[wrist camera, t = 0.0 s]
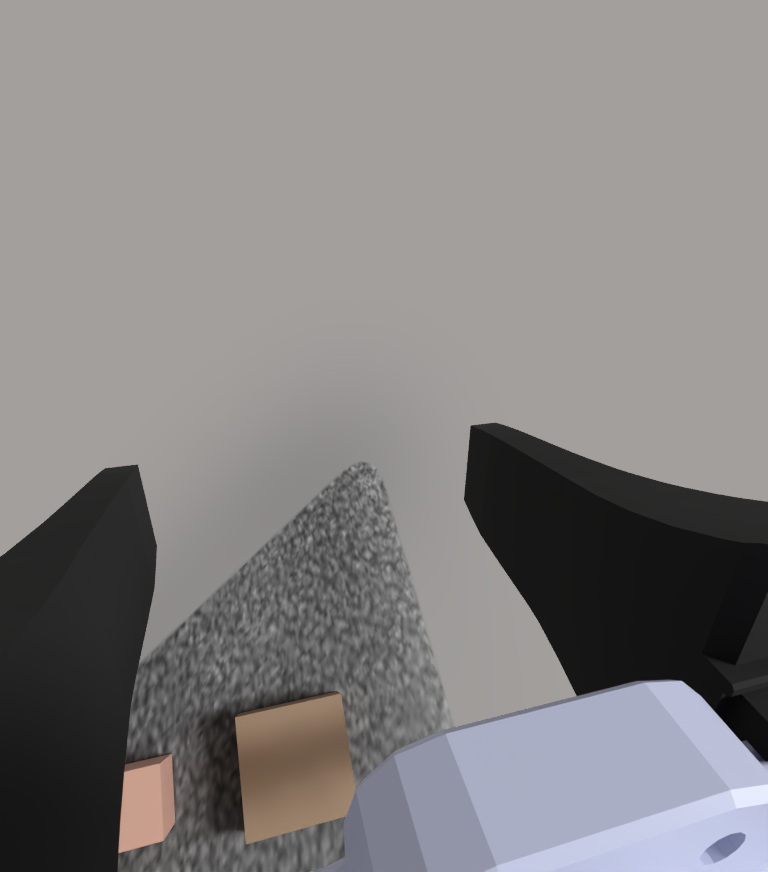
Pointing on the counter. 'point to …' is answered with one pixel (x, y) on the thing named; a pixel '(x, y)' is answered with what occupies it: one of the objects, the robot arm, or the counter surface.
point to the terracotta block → (146, 802)
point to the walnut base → (294, 765)
